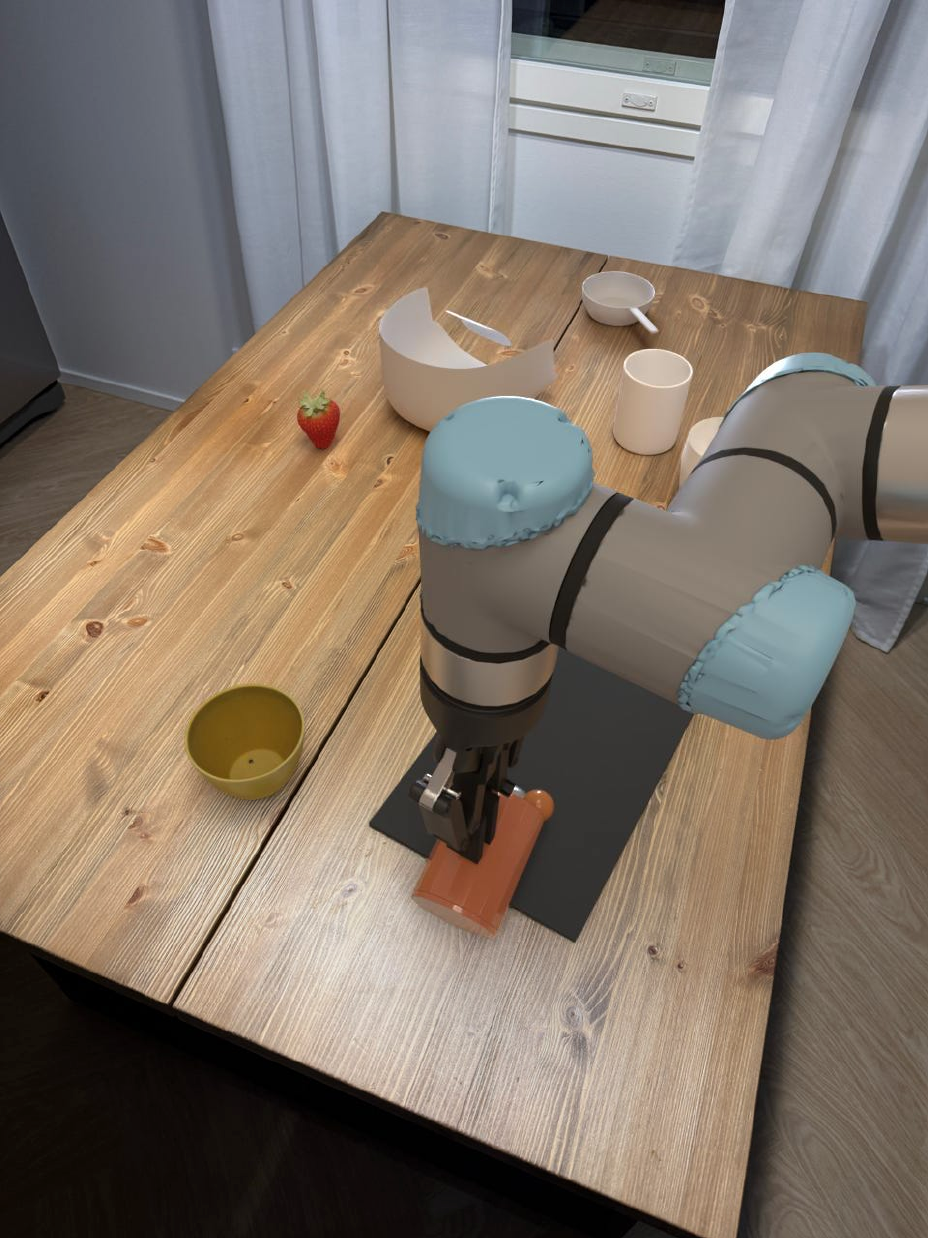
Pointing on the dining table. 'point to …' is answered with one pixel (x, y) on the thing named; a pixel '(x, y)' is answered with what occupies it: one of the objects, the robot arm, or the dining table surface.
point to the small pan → (618, 299)
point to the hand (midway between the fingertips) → (470, 842)
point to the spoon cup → (481, 872)
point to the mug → (651, 401)
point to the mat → (570, 787)
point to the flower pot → (246, 740)
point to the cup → (697, 445)
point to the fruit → (319, 419)
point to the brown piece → (541, 802)
